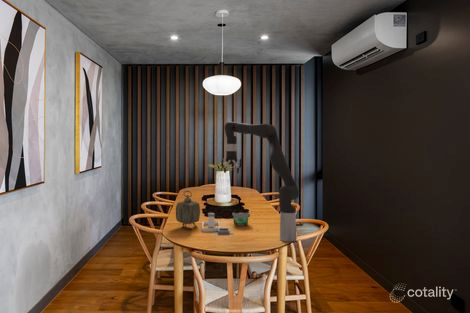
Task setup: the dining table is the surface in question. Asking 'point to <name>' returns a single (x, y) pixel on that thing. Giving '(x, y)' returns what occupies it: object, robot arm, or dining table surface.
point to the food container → (240, 219)
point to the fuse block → (223, 231)
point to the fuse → (210, 220)
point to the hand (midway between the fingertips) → (231, 173)
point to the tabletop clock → (187, 211)
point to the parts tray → (210, 228)
